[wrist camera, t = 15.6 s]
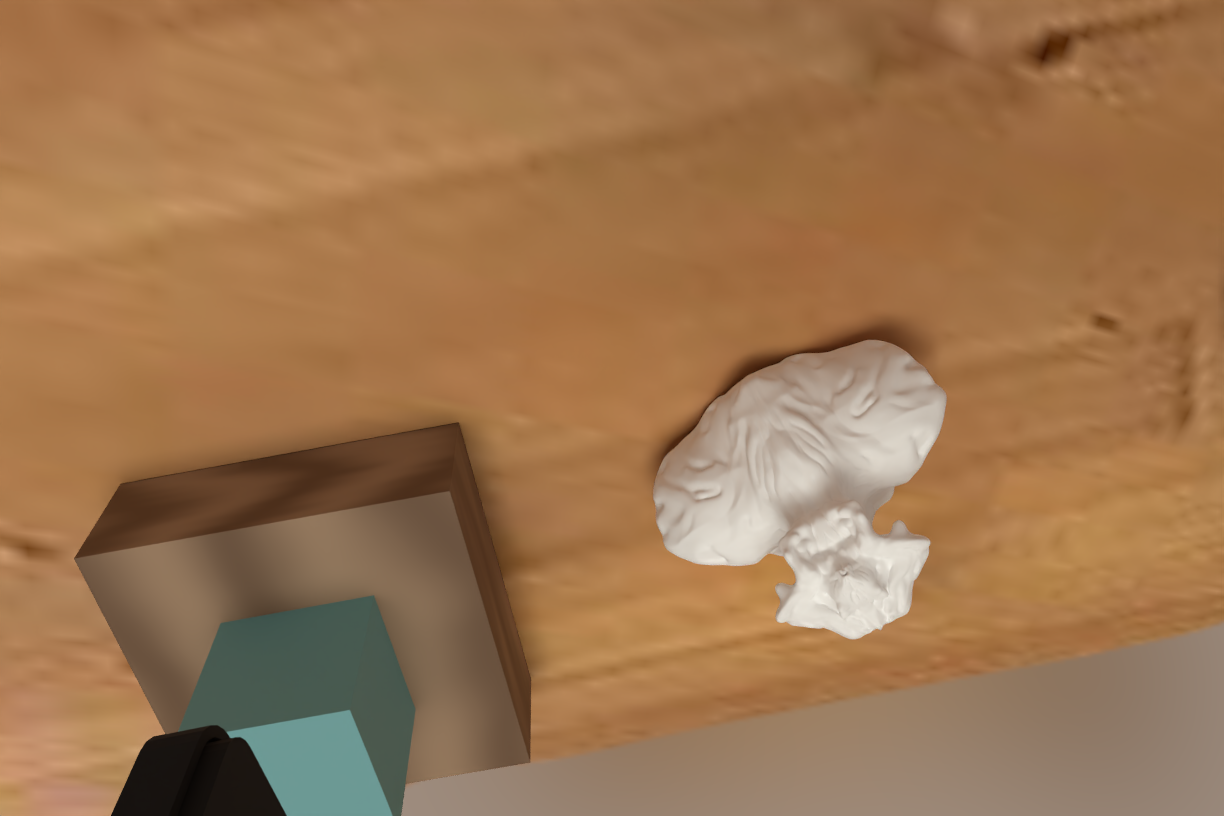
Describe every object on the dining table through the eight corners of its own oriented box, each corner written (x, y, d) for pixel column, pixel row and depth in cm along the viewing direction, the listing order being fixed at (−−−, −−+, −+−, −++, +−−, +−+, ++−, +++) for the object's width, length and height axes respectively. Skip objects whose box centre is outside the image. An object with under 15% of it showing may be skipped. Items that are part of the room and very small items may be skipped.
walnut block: (458, 422, 43) (449, 491, 39) (530, 679, 50) (530, 762, 46) (120, 484, 44) (73, 558, 39) (237, 730, 50) (209, 817, 46)
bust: (657, 471, 48) (769, 711, 43) (587, 426, 41) (710, 705, 36) (901, 332, 45) (1049, 570, 40) (868, 259, 38) (1041, 536, 34)
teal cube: (373, 595, 41) (349, 710, 36) (415, 709, 44) (399, 830, 39) (220, 623, 41) (174, 741, 36) (272, 734, 44) (236, 859, 39)
